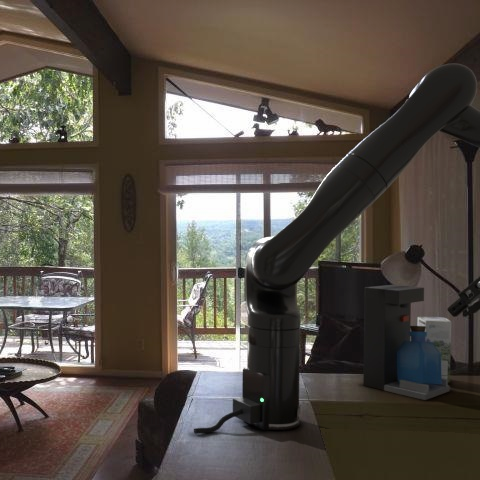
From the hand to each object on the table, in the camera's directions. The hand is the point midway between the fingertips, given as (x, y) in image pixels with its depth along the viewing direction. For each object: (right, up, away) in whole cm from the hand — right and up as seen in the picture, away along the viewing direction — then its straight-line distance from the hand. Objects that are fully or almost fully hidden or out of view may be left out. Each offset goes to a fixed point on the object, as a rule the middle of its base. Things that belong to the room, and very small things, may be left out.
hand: (460, 311), depth 117 cm
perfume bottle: (-5, -16, +7) cm, 18 cm away
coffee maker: (-7, -18, +10) cm, 22 cm away
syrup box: (+2, -18, +17) cm, 25 cm away
